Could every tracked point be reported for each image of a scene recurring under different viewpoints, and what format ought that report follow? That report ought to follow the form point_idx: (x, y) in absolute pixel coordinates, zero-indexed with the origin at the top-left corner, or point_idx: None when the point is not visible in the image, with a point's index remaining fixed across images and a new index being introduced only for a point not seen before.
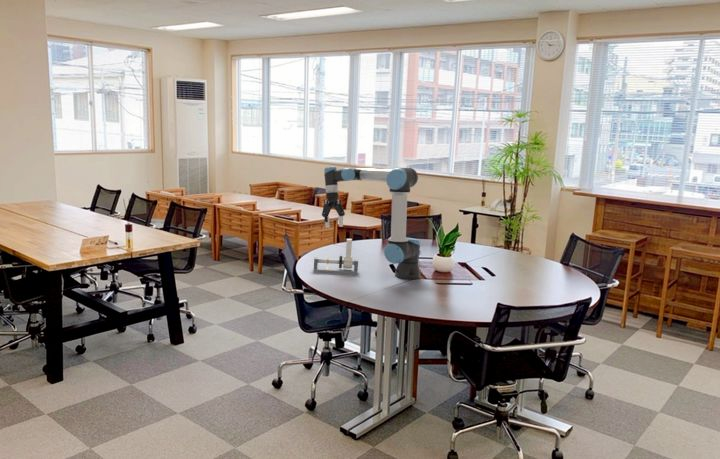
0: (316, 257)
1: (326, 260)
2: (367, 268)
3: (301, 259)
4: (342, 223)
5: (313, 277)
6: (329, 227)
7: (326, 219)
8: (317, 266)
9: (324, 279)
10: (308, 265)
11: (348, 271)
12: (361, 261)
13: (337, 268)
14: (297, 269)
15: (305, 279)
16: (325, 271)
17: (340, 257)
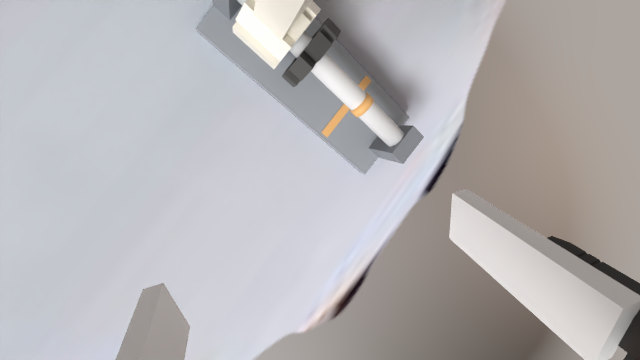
0: (396, 157)
1: (374, 102)
2: (96, 33)
3: (315, 314)
4: (143, 328)
5: (446, 55)
6: (459, 191)
7: (601, 262)
8: (359, 159)
9: (433, 3)
10: (350, 221)
11: None
12: (20, 188)
13: (302, 83)
14: (421, 185)
15: (484, 50)
16: (373, 81)
17: (326, 41)
